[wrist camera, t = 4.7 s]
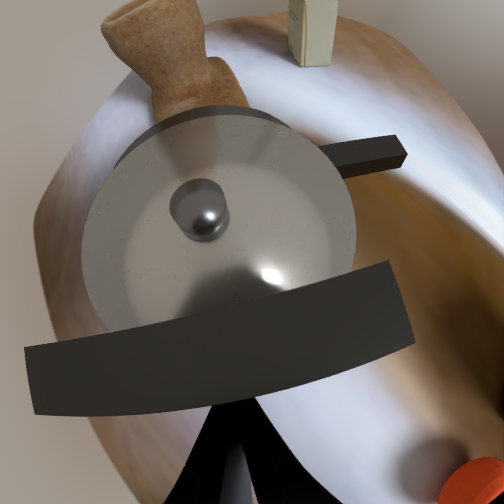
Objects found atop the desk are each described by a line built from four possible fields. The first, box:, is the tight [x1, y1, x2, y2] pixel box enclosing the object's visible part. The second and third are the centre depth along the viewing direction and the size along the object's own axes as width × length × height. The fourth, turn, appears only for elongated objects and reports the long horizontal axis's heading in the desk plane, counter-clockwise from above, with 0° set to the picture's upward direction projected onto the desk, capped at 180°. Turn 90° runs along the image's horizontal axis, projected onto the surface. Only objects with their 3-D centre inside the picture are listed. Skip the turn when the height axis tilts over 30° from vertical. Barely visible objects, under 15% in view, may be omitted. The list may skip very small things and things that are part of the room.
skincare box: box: [288, 0, 338, 67], centre depth 26 cm, size 6×4×12 cm
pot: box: [114, 105, 408, 179], centre depth 20 cm, size 13×20×8 cm, turn 104°
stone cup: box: [101, 0, 250, 123], centre depth 23 cm, size 15×12×15 cm
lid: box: [24, 115, 416, 417], centre depth 11 cm, size 14×14×8 cm
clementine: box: [437, 457, 504, 504], centre depth 10 cm, size 8×7×7 cm
